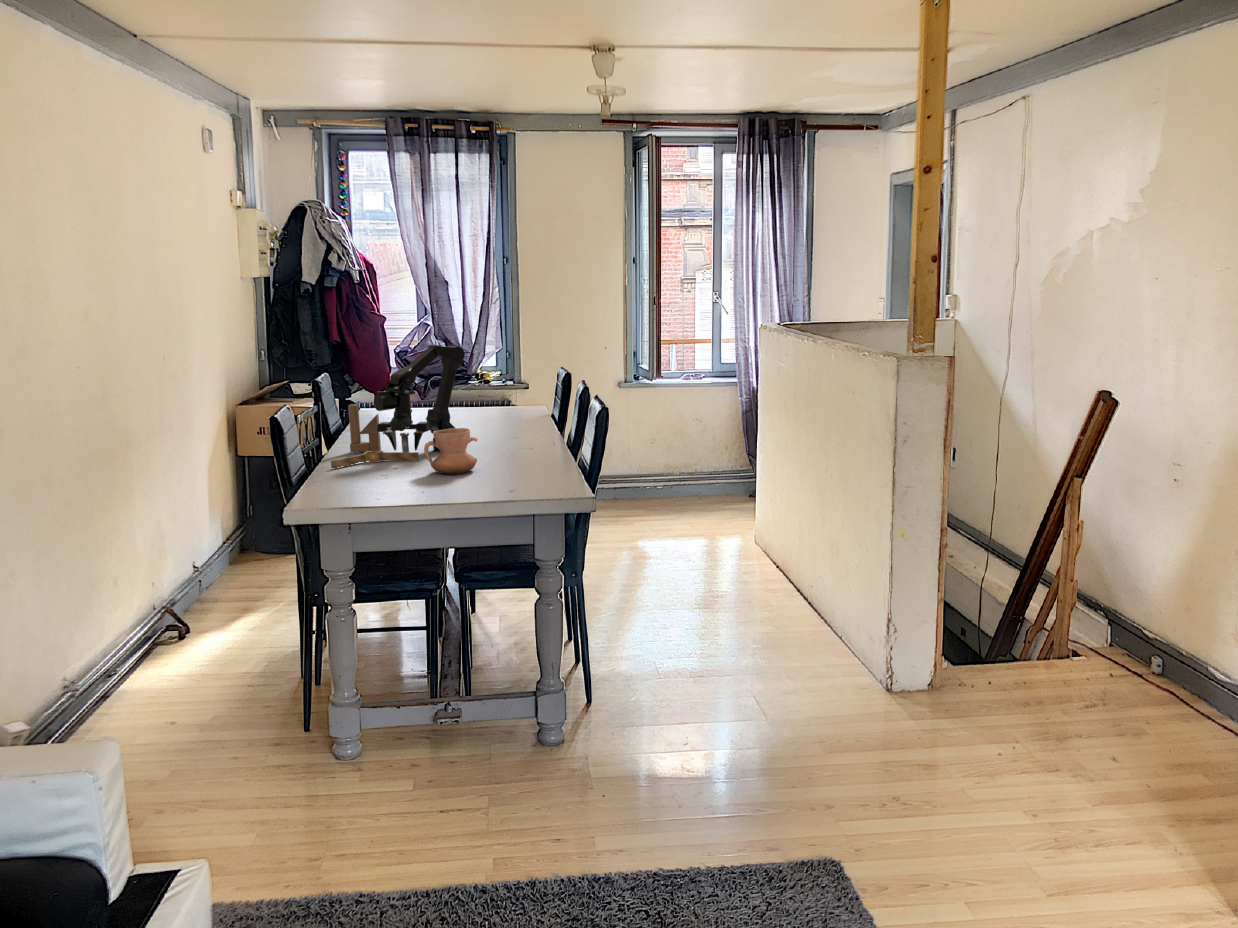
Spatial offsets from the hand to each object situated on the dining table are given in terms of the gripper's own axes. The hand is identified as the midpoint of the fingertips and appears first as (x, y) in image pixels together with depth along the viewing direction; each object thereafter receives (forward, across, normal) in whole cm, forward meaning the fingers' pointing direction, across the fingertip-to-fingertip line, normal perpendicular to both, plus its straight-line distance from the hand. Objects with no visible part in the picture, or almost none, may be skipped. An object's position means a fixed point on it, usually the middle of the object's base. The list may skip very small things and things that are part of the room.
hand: (405, 450), depth 370 cm
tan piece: (+2, -6, -13) cm, 15 cm away
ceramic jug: (+3, +25, -26) cm, 36 cm away
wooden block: (+3, -19, +10) cm, 22 cm away
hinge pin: (+2, 0, 0) cm, 2 cm away
